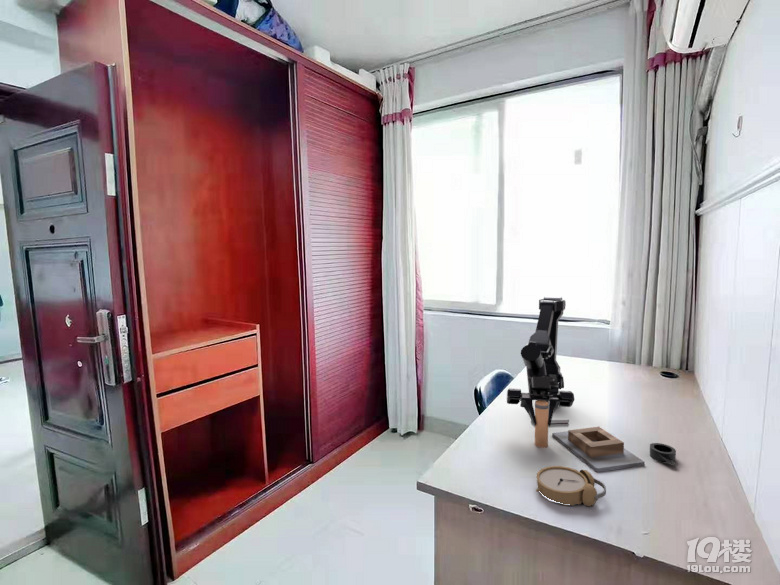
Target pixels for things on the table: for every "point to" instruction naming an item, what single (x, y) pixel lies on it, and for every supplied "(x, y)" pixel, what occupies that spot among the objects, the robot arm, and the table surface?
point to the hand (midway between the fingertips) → (542, 425)
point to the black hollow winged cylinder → (663, 453)
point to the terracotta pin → (541, 423)
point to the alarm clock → (568, 485)
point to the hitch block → (598, 449)
